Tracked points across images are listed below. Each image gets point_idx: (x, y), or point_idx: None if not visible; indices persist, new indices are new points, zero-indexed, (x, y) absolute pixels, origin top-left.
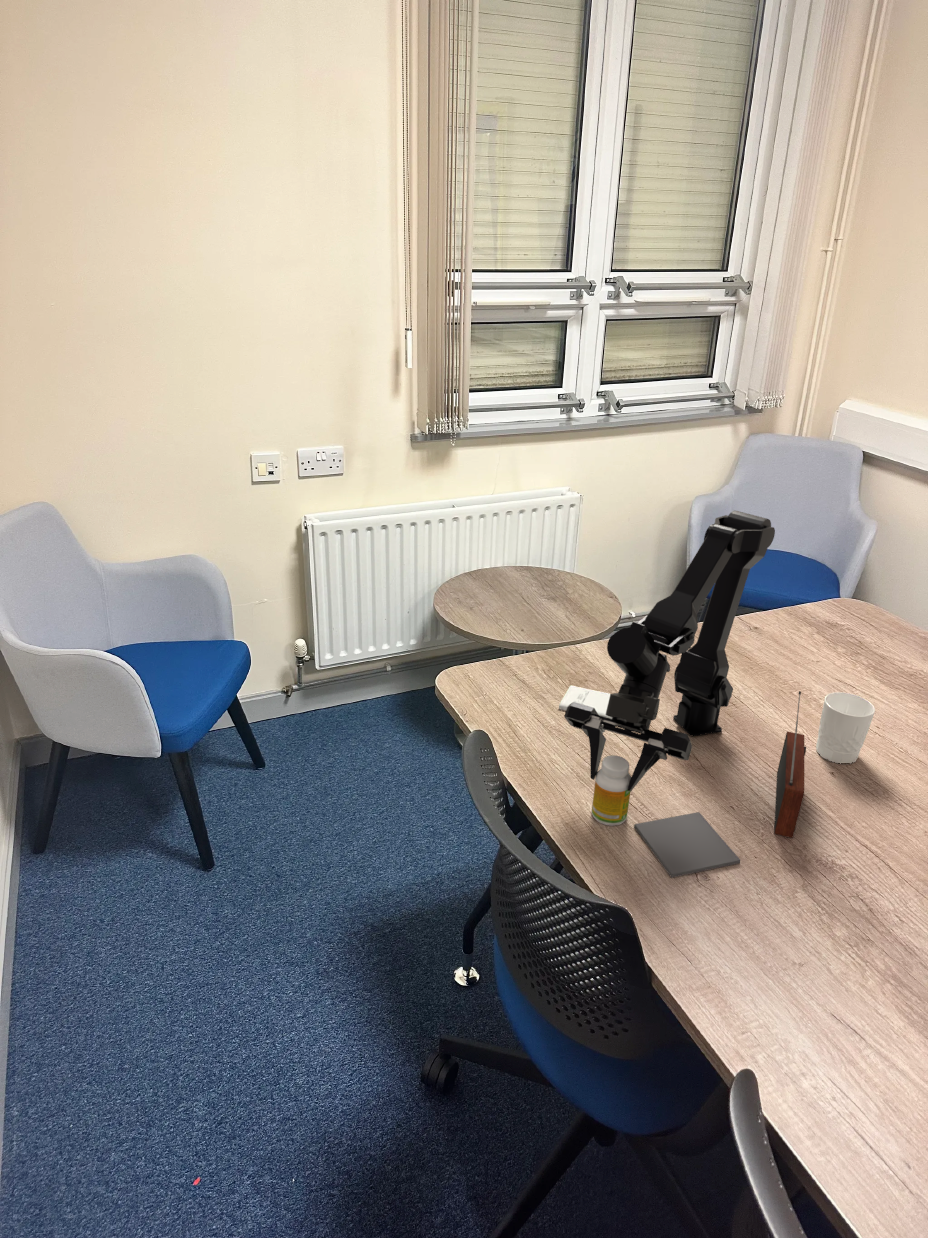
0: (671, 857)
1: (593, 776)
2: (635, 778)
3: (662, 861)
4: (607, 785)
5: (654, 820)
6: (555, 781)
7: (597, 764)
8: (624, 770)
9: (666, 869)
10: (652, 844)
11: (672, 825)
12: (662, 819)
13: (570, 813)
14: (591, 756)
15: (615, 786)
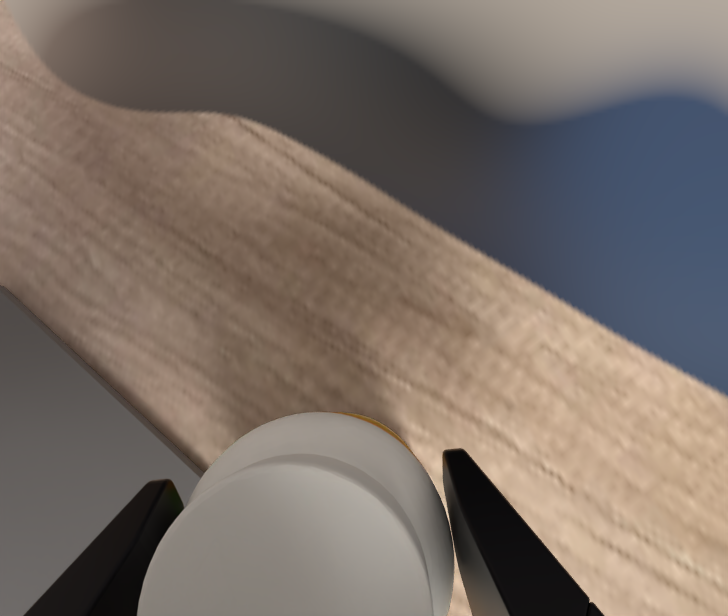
0: (10, 370)
1: (445, 458)
2: (81, 560)
3: (38, 326)
4: (308, 419)
5: None
6: (685, 593)
7: (476, 579)
8: (158, 545)
9: (23, 307)
10: (100, 401)
11: None
12: None
13: (490, 403)
14: (566, 586)
15: (249, 438)
